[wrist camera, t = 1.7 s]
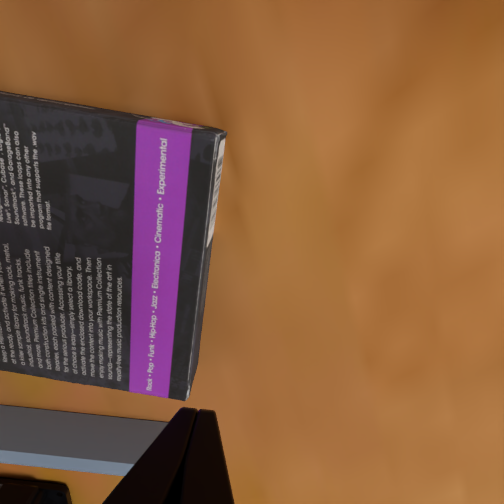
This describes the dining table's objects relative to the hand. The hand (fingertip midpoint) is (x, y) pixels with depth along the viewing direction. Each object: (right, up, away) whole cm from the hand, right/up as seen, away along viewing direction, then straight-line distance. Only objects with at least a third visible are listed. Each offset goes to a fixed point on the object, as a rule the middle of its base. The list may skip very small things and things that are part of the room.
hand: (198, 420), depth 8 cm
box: (-10, +5, +10) cm, 15 cm away
